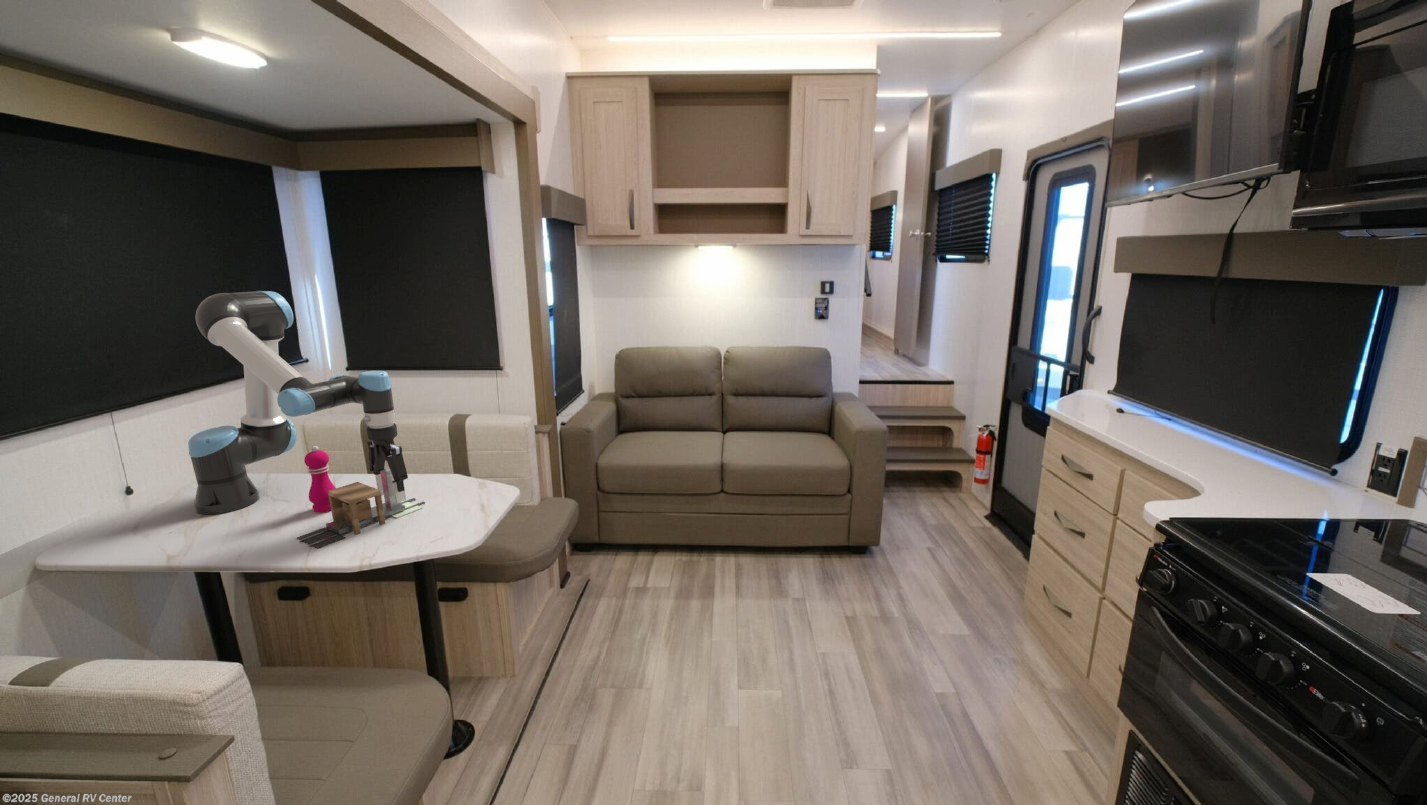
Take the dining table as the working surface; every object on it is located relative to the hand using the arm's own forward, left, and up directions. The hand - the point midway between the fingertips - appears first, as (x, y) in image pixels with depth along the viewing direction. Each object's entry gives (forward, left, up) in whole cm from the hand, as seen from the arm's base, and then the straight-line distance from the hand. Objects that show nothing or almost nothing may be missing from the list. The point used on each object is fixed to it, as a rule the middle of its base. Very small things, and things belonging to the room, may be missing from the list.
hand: (392, 497), depth 169 cm
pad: (0, +1, -4) cm, 5 cm away
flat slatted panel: (0, -20, -4) cm, 20 cm away
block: (0, -10, -2) cm, 10 cm away
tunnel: (0, -10, -4) cm, 11 cm away
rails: (0, -8, -4) cm, 9 cm away
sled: (0, -8, -4) cm, 9 cm away
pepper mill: (-19, -10, -5) cm, 22 cm away
